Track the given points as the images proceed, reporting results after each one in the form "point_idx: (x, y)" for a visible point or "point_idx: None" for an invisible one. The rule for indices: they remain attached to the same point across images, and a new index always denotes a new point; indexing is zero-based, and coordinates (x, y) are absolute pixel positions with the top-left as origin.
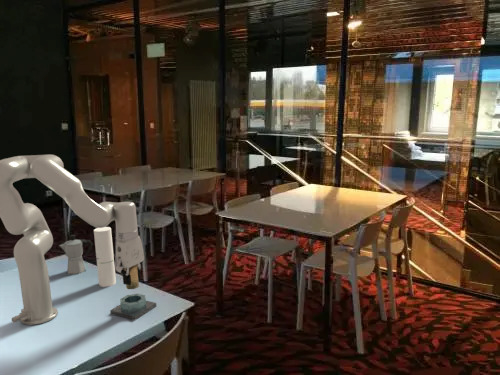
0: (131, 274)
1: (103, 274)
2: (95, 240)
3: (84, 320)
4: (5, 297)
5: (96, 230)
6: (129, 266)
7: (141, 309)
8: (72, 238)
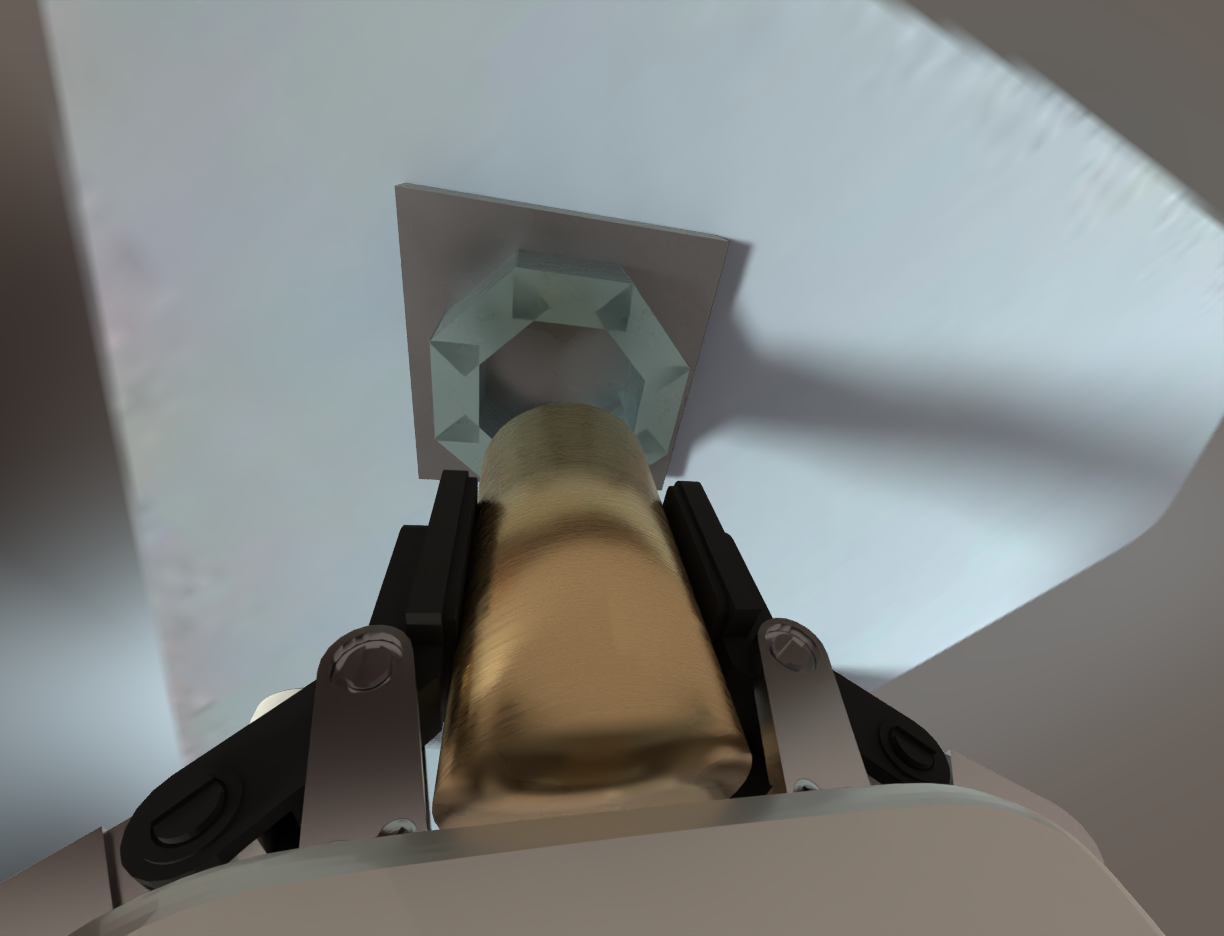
0: (690, 599)
1: None
2: None
3: (754, 544)
4: None
5: None
6: (998, 838)
7: (591, 260)
8: None
